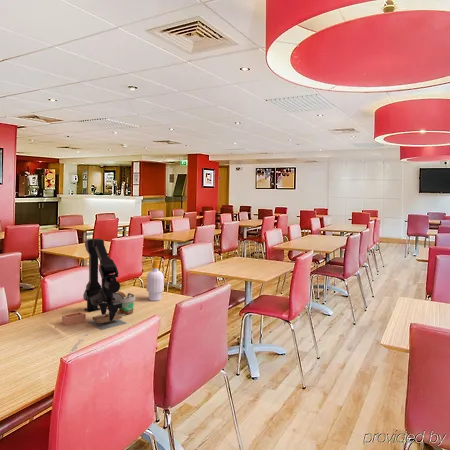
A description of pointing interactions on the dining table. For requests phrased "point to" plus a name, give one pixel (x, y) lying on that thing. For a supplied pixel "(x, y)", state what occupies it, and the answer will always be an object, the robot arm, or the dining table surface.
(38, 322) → the dining table surface
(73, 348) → the spoon
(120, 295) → the tin
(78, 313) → the dish
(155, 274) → the soap bottle
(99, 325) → the mat
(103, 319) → the lid
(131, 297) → the food container
